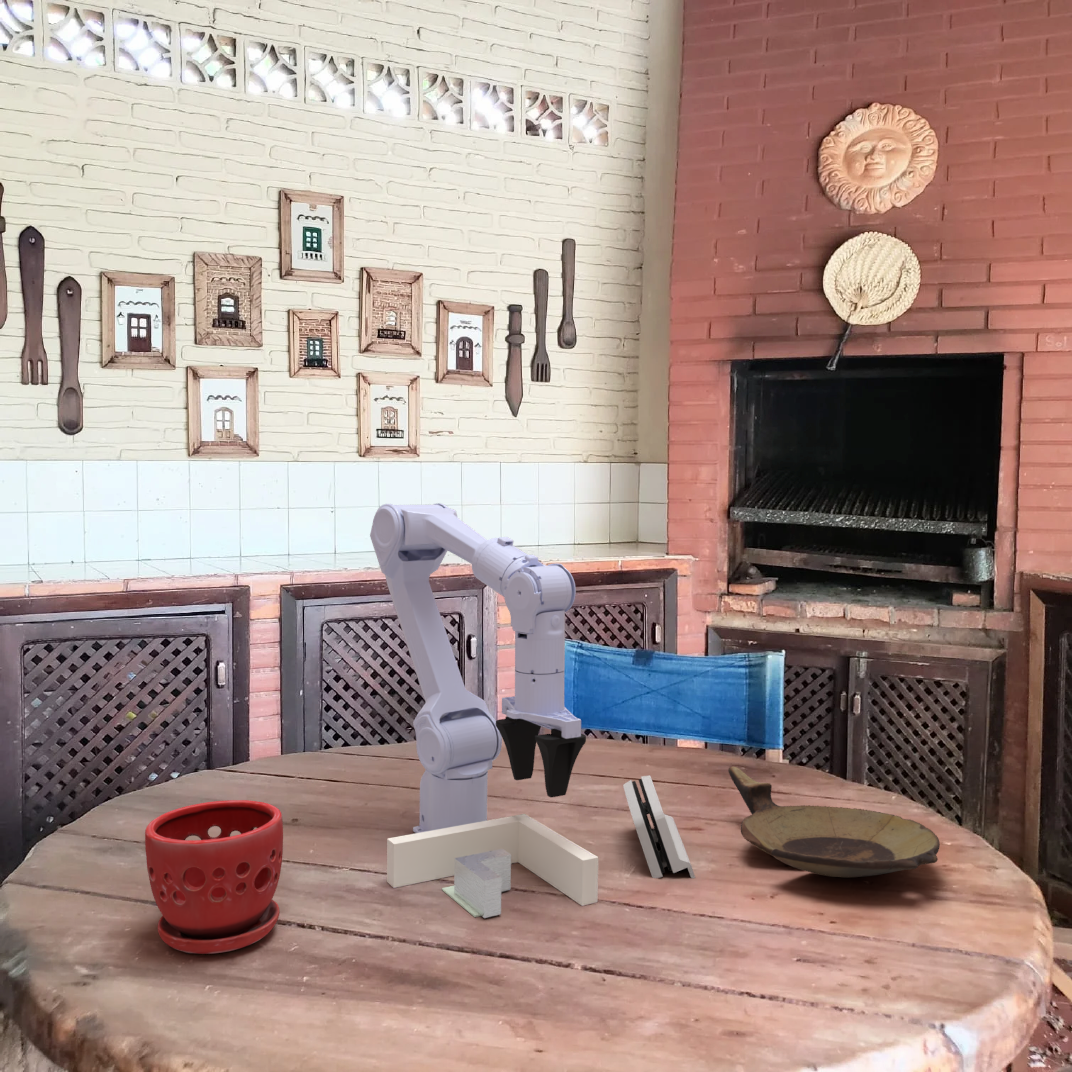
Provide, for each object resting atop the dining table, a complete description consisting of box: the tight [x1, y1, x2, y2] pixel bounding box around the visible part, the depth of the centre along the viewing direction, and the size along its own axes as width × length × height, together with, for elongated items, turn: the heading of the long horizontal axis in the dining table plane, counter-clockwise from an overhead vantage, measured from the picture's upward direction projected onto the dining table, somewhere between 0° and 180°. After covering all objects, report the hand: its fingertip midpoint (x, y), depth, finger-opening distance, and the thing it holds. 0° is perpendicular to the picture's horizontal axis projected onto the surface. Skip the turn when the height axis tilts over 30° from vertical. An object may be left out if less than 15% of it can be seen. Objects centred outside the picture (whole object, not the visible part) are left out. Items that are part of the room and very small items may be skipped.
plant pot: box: [144, 799, 284, 955], centre depth 102 cm, size 13×13×12 cm
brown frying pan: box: [727, 765, 941, 878], centre depth 125 cm, size 22×30×8 cm
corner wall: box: [386, 813, 599, 907], centre depth 113 cm, size 16×18×5 cm
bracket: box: [453, 849, 512, 919], centre depth 110 cm, size 7×6×4 cm
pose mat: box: [441, 885, 482, 918], centre depth 112 cm, size 8×7×1 cm
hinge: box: [622, 775, 696, 879], centre depth 126 cm, size 17×5×10 cm, turn 0°
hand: (539, 786), depth 118 cm, fingers open, 7 cm apart
